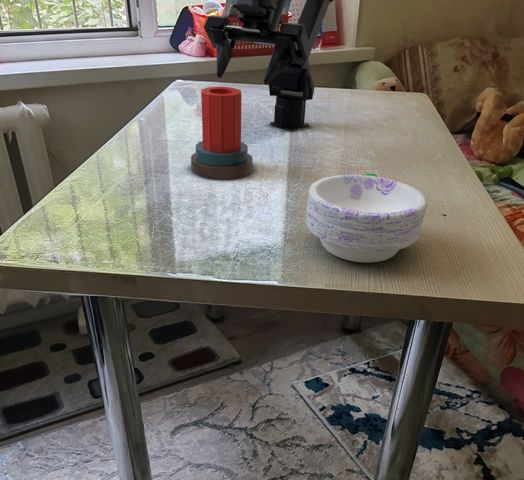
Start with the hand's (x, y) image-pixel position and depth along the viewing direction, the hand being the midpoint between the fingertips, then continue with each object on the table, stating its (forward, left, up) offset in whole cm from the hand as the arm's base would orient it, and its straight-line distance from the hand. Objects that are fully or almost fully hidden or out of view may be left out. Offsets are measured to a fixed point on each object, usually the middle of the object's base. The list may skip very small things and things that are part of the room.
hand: (241, 80), depth 97 cm
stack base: (+7, +3, -13) cm, 16 cm away
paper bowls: (+12, +39, -14) cm, 43 cm away
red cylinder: (+7, +3, -9) cm, 12 cm away
